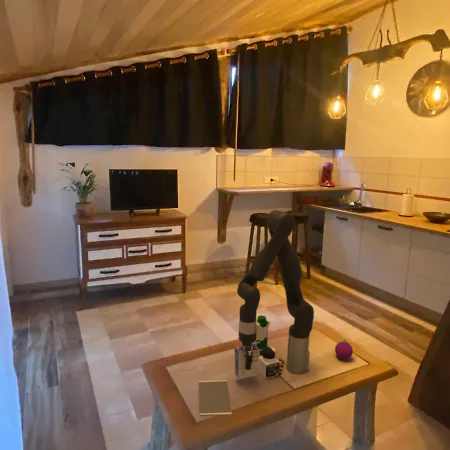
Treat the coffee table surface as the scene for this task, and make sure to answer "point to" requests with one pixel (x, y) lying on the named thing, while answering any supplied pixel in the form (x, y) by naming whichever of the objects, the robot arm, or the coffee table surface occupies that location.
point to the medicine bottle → (268, 363)
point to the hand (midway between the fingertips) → (246, 364)
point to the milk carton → (262, 332)
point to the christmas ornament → (343, 350)
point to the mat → (214, 398)
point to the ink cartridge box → (240, 362)
